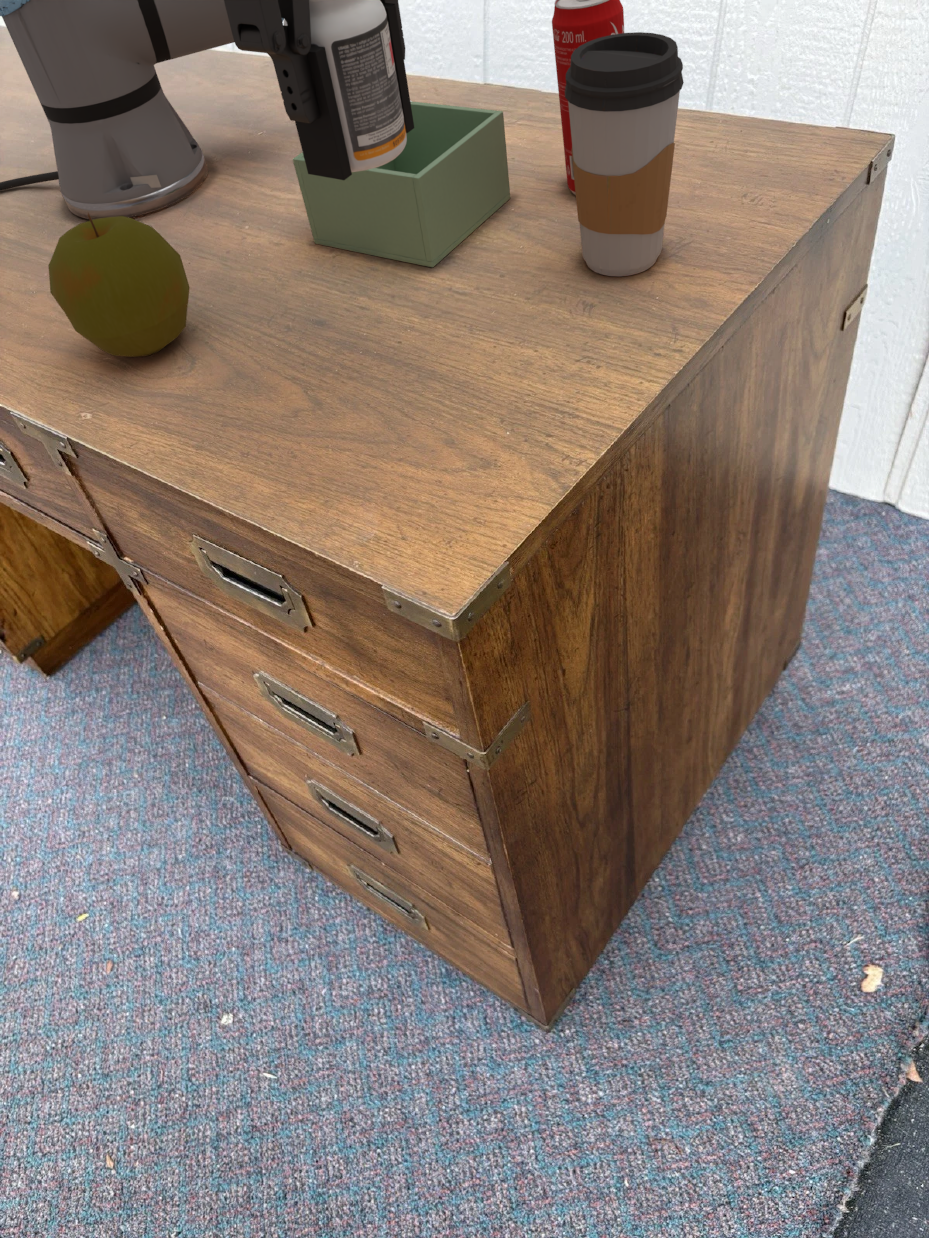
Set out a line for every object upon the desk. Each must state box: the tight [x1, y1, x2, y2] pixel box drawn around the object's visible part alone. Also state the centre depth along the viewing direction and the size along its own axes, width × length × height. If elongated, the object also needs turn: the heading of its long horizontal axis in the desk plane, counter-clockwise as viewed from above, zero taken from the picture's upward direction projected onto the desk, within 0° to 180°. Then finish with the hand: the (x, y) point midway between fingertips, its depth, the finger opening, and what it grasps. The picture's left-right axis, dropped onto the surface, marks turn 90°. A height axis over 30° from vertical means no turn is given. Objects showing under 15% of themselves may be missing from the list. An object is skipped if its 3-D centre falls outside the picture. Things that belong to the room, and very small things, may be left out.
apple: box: [47, 213, 191, 358], centre depth 69 cm, size 10×10×11 cm
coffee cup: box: [565, 31, 684, 277], centre depth 66 cm, size 8×8×15 cm
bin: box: [292, 100, 511, 268], centre depth 78 cm, size 13×13×8 cm
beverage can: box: [551, 0, 625, 196], centre depth 75 cm, size 6×6×15 cm
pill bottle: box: [283, 0, 407, 172], centre depth 49 cm, size 6×6×10 cm
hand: (362, 149), depth 52 cm, fingers closed on pill bottle, 6 cm apart
